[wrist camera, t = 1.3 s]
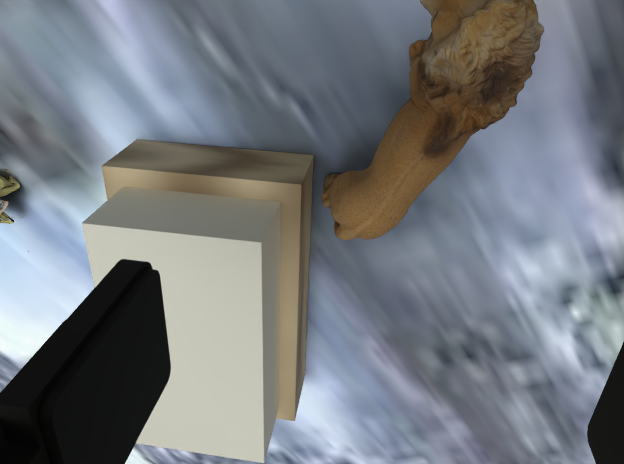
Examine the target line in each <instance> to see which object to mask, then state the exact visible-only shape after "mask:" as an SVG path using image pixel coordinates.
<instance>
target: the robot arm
mask: <svg viewBox="0 0 624 464" xmlns="http://www.w3.org/2000/svg"><path fill="white" fill-rule="evenodd" d="M170 372H171V362H170V353H169V345H168V337H167V329H166V320H165V312H164V304H163V296H162V287H161V279H160V273H159V271H158V270H154V269H153V268H152V265H151V264H150V263H149V262H145V261H136V260H128V259H121V260H120V261H118V262H117V263H116V265H115V266H114V267H113V268H112V269H111V270H110V271H109V272H108V274H107V275H106V276H105V277H104V278H103V279H102V280H101V282H100V283H99V284H98V285H97V286H96V287H95V288H94V289H93V291H92V292H91V293H90V294H89V295H88V296H87V297H86V298H85V300H84V301H83V302H82V303H81V304H80V305H79V306H78V307H77V309H76V310H75V311H74V312H73V313H72V314H71V315H70V317H69V318H68V319H66V320H65V321H64V322H63V323H62V324H61V325H60V326H59V327H58V329H57V330H56V331H55V332H54V333H53V334H52V335H51V336H50V338H49V339H48V340H47V341H46V342H45V343H44V344H43V345H42V347H41V348H40V349H39V350H38V351H37V352H36V353H35V354H34V356H33V357H32V358H31V359H30V360H29V361H28V362H27V363H26V365H25V366H24V367H23V368H22V369H21V370H20V371H19V372H18V374H17V375H16V376H15V377H14V378H13V379H12V380H11V381H10V383H9V384H8V385H7V386H6V387H5V388H4V389H3V390H2V392H1V393H0V464H125V462H126V460H127V458H128V456H129V455H130V453H131V451H132V449H133V447H134V445H135V443H136V441H137V439H138V438H139V436H140V434H141V432H142V430H143V428H144V426H145V424H146V423H147V421H148V419H149V417H150V415H151V413H152V411H153V409H154V407H155V406H156V404H157V402H158V400H159V398H160V396H161V394H162V392H163V390H164V389H165V387H166V385H167V383H168V380H169V377H170ZM587 436H588V442H589V446H590V448H591V451H592V454H593V456H594V459H595V462H596V464H624V342H623V345H622V347H621V349H620V352H619V354H618V356H617V359H616V361H615V363H614V366H613V368H612V371H611V373H610V375H609V378H608V380H607V382H606V385H605V387H604V389H603V392H602V394H601V396H600V399H599V401H598V403H597V406H596V408H595V410H594V413H593V415H592V417H591V420H590V422H589V425H588V431H587Z"/></svg>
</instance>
